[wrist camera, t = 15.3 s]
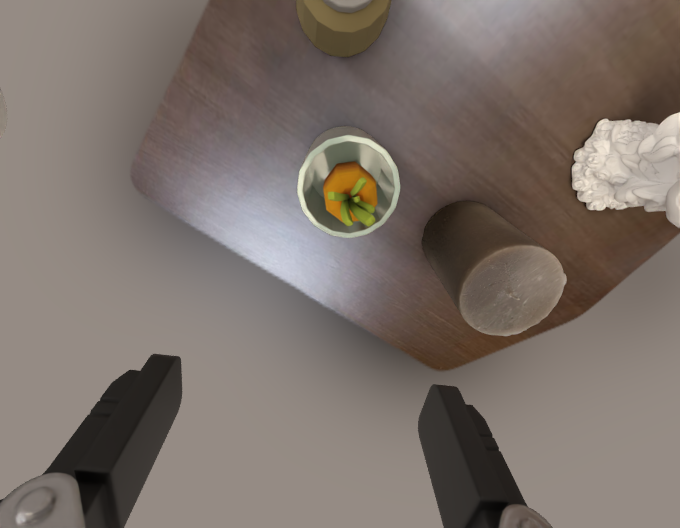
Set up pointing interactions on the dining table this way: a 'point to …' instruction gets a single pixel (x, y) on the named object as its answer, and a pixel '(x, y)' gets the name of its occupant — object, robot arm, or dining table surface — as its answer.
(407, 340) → the dining table surface
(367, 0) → the squeeze bottle
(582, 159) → the cherub figurine
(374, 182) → the carrot
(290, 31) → the dining table surface
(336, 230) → the tumbler
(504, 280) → the pillar candle
